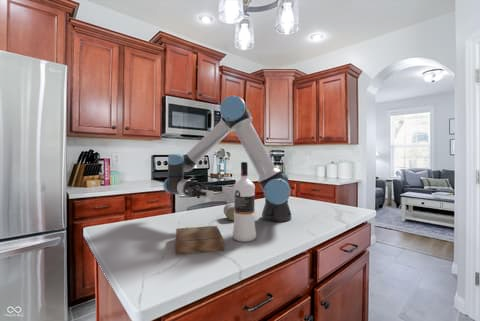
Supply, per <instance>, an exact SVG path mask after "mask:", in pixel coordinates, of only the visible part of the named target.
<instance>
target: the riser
mask: <svg viewBox="0 0 480 321" xmlns="http://www.w3.org/2000/svg"><path fill="white" fill-rule="evenodd" d="M224 239H225V238H224V237H223V235H222V233H221V231H220V229H219V227H218V226H217V225H209V226H208V225H207V226H197V227H183V228H182V227H181V228H180V227H179V228H176V229H175V239H174V240H175V243H174V244H175V247H174V248H175V252H174V253H175V254H174V255H175V256H178V255H180V254H181V255H188V254H189V255H190V254H199V253H200V254H201V253H209V252H210V253H211V252H220V251H224V247H225V246H224V243H225V242H224Z"/></svg>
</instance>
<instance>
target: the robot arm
mask: <svg viewBox="0 0 480 321" xmlns="http://www.w3.org/2000/svg"><path fill="white" fill-rule="evenodd" d="M219 113H220V116H221V117H220V121H219V122H218V123H217V124H216V125H215V126H214V127H213V128H212V129H211V130H210V131H209V132H207V134H205V135H204V137H202V138H201V139H200V140H199V141H198V142H197V143H196V144H195V145H194V146H193V147H192V148H191V149H190V150H189V151H188V152H187V153H186V154H185V155H183V154H169V155H168V156H167V157H168V158H167V178H166V179H165V180H164V182H163V185H162V187H163V190H164V191H165V192H166V193H168V194H172V195H180V196H183V197H191V198H192V197H193V198H195V197H196V199H200V198H201V197H202V198H208V199H214V198H215V197H214V194H215V193H219V192H220V193H223V194H225V193H226V194H229V195H230V194H231V195H234V186H233V187H232V186H226V185H225V184H223V185H213V184H211V185H210V184H201V183H200V182H199V181H197V180H193V179H184V178H185V176H184V175H185V173H188V172H191V171H192V170H193V169H194V168H195V166H197V164H198V163H199V162H201V160H202V159H203V158H204V157H205V156H206V155H208V153H210V152H211V151H212V150H213V149H214V148H215V146H217V145H218V144H219V143H221V141H222V140H223V139H224V138H226V136H228V134H230V133H231V132H235V134H236V136H237V138H238V139H239V141H240V143H241V145H242V148H243V149H244V151H245V153H246V155H247V157H248V158H249V161H250V162H251V164H252V165H253V168H254V169H255V171H256V173H257V175H258V177H259V178H258V182H257V183H258V184H259V185H260V188H261V190H262V191H263V196H264V199H265V202H264V206H263V208H262V212H261V219H263V220H265V221H267V222H269V221H270V222H274V223H275V222H280V223H281V222H287V221H290V220H292V212H291V210H290V206H289V198H290V196H291V192H292V191H291V186H290V184H289V176H288V174H287V173H282V170H281V169H279V168H276V166H275V165H274V163H273V161H272V158H271V156H270V154H269V153H268V151H267V149H266V147H265V145H264V144H263V142H262V139H260V136H259V135H258V133H257V131H256V129H255V127H254V125H253V122H252V121H253V116H252V114H251V112H250V111H249V109H248V106H247V105H246V102H245V101H244V99H243V98H241V97H240V96H238V95H229V96H226V97H225V98H224V99H223V100H222V101H221V103H220V105H219Z"/></svg>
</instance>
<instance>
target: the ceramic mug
mask: <svg viewBox="0 0 480 321" xmlns="http://www.w3.org/2000/svg"><path fill="white" fill-rule="evenodd" d="M223 213H224V216H225V218H227V219H228V220H230V221H233V222H234V202H229V203H227V204H225V205H224V206H223Z"/></svg>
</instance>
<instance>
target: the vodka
mask: <svg viewBox="0 0 480 321" xmlns="http://www.w3.org/2000/svg"><path fill="white" fill-rule="evenodd" d="M248 166H249V165H248V162H246V161H242V162H240V179H239V180H238V181H237V182H235V183H234V185H233V187H234V194H233V203H234V221H233V231H232V238H233V239H234V240H235V241H237V242H240V243H241V242H242V243H249V242H252V241H254V240H255V239H256V238H257V231H256V221H255V220H256V219H255V218H256V217H255V216H256V213H255V212H256V211H255V195H256V193H255V192H256V191H255V190H256V186H255V184H254V182H253V181H251V180H250V179H249V177H248V176H249V175H248V169H249V168H248Z"/></svg>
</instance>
